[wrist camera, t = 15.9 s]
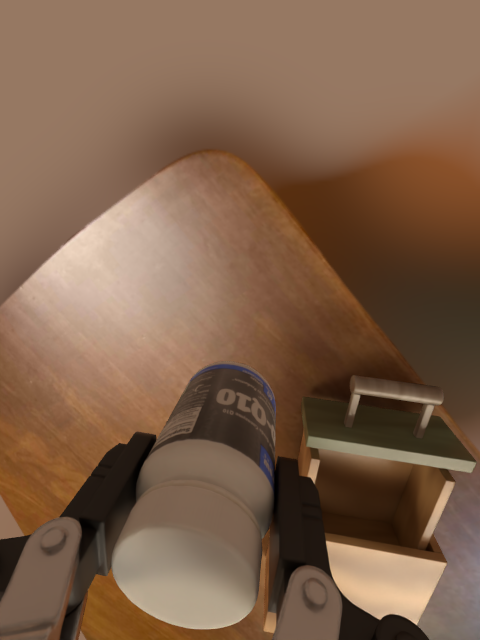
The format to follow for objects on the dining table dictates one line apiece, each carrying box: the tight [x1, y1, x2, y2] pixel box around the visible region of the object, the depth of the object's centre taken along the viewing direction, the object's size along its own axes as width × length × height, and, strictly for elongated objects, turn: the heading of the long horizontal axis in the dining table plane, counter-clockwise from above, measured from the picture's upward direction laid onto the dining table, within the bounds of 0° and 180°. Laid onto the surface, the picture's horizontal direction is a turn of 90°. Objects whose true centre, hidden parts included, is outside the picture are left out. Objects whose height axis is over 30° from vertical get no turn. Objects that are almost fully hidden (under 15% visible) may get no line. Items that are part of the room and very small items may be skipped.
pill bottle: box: [111, 361, 276, 629], centre depth 12 cm, size 5×5×8 cm
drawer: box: [298, 375, 477, 551], centre depth 29 cm, size 20×13×6 cm
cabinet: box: [263, 533, 447, 633], centre depth 33 cm, size 16×15×8 cm
